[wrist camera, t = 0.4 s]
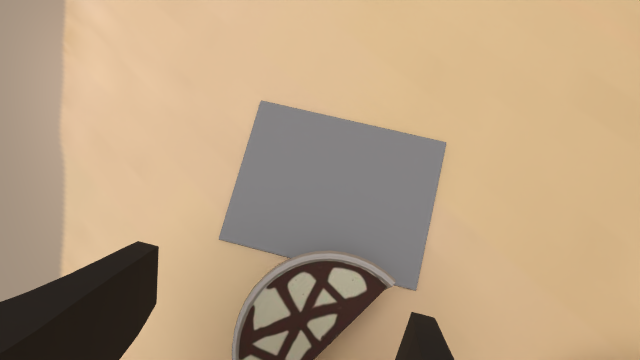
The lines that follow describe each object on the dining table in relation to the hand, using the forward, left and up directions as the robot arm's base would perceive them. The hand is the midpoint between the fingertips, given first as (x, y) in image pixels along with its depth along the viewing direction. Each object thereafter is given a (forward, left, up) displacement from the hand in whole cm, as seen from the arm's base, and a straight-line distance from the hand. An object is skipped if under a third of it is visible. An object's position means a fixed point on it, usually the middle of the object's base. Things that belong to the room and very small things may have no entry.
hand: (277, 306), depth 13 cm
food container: (-1, +1, -26) cm, 26 cm away
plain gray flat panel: (+9, +1, -26) cm, 27 cm away
